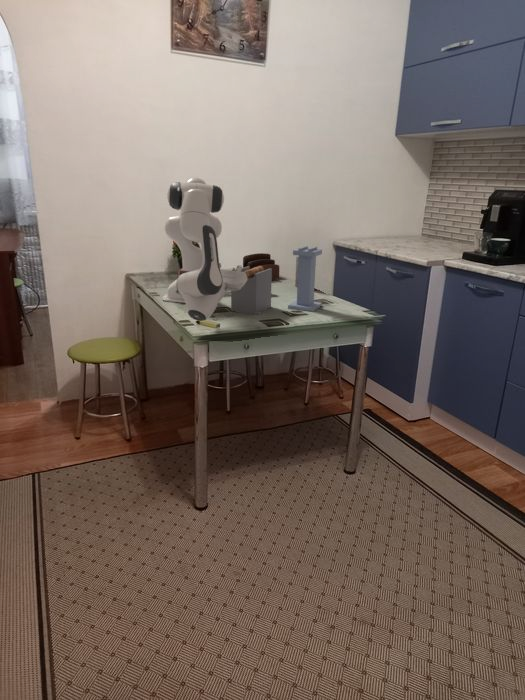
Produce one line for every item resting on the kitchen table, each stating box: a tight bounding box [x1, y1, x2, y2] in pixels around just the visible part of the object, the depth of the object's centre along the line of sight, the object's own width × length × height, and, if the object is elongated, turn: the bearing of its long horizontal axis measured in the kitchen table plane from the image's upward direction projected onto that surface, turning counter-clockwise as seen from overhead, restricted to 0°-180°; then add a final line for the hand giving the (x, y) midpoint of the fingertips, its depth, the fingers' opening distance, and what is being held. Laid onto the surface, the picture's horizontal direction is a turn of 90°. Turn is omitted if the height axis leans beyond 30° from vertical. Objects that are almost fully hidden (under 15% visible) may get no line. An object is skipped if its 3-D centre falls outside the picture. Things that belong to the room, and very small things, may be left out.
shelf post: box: [287, 245, 323, 312], centre depth 227 cm, size 12×12×27 cm
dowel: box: [243, 266, 264, 278], centre depth 217 cm, size 22×3×3 cm
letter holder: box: [242, 252, 280, 280], centre depth 294 cm, size 10×20×14 cm, turn 127°
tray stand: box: [230, 266, 273, 315], centre depth 224 cm, size 16×12×18 cm
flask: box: [294, 256, 299, 288], centre depth 269 cm, size 4×14×18 cm, turn 21°
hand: (229, 265), depth 202 cm, fingers open, 8 cm apart
